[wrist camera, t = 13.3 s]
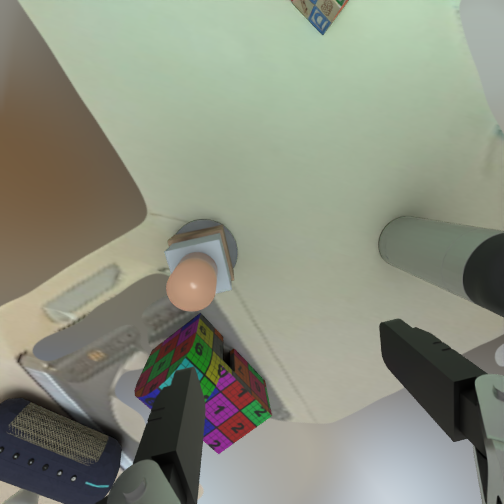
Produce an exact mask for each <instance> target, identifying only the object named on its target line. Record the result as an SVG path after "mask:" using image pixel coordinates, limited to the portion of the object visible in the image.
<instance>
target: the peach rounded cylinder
mask: <svg viewBox="0 0 504 504" xmlns="http://www.w3.org/2000/svg"><path fill="white" fill-rule="evenodd" d="M217 275H218V268H217V265H216V263H215V261H214V260H213V259H212V258H211V257H210V256H209V255H207V254H205V253H201V252H193V253H189V254H187V255H185V256H184V257H183V258H182V259H181V260H180V262H179V263H178V265H177V266H176V268H175V269H174V271H173V272H172V274H171V275H170V277H169V279H168V281H167V286H166V291H167V295H168V297H169V299H170V301H171V302H172V303H173V304H174V305H175V306H176V307H178V308H180V309H182V310H185V311H198V310H201V309H204V308H205V307H207V306H208V305H209V304H210V303H211V302H212V300H213V299H214V296H215V293H216V285H217Z"/></svg>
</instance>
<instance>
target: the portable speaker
mask: <svg viewBox="0 0 504 504" xmlns="http://www.w3.org/2000/svg"><path fill="white" fill-rule="evenodd" d="M121 451H122V448H121V446H120V444H119V443H118V441H117V440H116V439H114V438H112V437H110V436H107V435H105V434H102V433H100V432H98V431H96V430H93V429H91V428H89V427H86V426H84V425H82V424H80V423H77V422H75V421H73V420H70V419H68V418H66V417H64V416H61V415H59V414H57V413H54V412H52V411H50V410H48V409H45V408H43V407H41V406H38V405H36V404H34V403H32V402H30V401H27V400H25V399H22V398H15V399H7V400H5V401H4V402H2V403H1V404H0V481H3V482H6V483H9V484H11V485H14V486H17V487H20V488H22V489H25V490H28V491H31V492H33V493H36V494H39V495H42V496H44V497H47V498H50V499H53V500H55V501H58V502H61V503H64V504H95V503H96V502H98V501H100V500H102V499H103V498H104V497H105V496H106V495H107V493H108V492H109V491H110V489H111V488H112V486H113V483H114V481H115V479H116V477H117V474H118V471H119V468H120V459H121Z"/></svg>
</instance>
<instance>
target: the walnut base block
mask: <svg viewBox="0 0 504 504" xmlns="http://www.w3.org/2000/svg"><path fill="white" fill-rule="evenodd" d="M217 233H220V235H221V239H222V243H223V247H224V251H225V255H226V259H227V263H228V267H229V271H230V275H231V281H233V280H234V273H233V267H232V262H231V258H230V254H229V249H228V245H227V241H226V236H225V232H224V228H223V225H219V226H214V227H209V228H205V229H200V230H195V231H191V232H186V233H181V234H177V235H174V236H173V237H171V238H170V239H169V240H168V245H169V247H170V246H171V245H172V244H173V243H177V242H182V241H186V240H191V239H195V238H200V237H204V236H208V235H213V234H217Z"/></svg>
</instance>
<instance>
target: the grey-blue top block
mask: <svg viewBox="0 0 504 504" xmlns="http://www.w3.org/2000/svg"><path fill="white" fill-rule="evenodd" d="M193 252H201V253H205V254H207V255H209V256H210V257H211V258H212V259H213V260H214V261H215V263H216V265H217V268H218V275H217V285H216V293H220V292H224V291H229V290H232V287H231V275H230V271H229V267H228V263H227V259H226V255H225V251H224V247H223V243H222V239H221V235H220V233H217V234H213V235H208V236H204V237H200V238H195V239H191V240H186V241H182V242H177V243H173V244H172V245H171V246H170V247H169V248H168V249H167V250H166V251H165V256H166V259H167V262H168V265H169V269H170V272H171V274H172V272H173V271H174V269H175V268H176V266H177V265H178V263H179V262H180V260H181V259H182V258H183V257H184V256H185V255H187V254H189V253H193ZM216 293H215V294H216Z"/></svg>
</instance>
